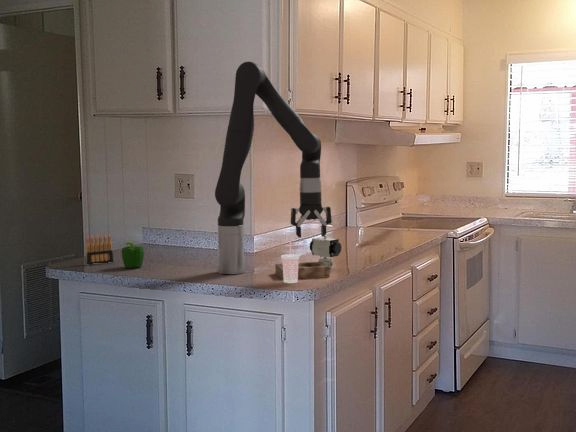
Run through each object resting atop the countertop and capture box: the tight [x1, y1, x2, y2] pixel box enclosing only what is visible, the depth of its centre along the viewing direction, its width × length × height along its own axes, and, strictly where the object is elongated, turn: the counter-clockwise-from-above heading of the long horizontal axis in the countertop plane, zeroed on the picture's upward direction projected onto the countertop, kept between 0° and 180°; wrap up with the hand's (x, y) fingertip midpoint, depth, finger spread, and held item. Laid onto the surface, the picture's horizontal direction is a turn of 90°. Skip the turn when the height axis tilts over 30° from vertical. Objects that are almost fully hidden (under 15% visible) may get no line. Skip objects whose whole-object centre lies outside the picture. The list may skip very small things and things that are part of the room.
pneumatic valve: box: [309, 235, 342, 269], centre depth 261 cm, size 6×12×12 cm, turn 51°
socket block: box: [274, 261, 330, 280], centre depth 247 cm, size 17×11×4 cm, turn 102°
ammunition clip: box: [85, 232, 114, 264], centre depth 275 cm, size 11×2×12 cm, turn 125°
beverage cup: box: [280, 240, 300, 284], centre depth 235 cm, size 6×6×14 cm
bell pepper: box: [121, 241, 145, 269], centre depth 266 cm, size 8×8×10 cm
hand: (311, 236), depth 247 cm, fingers open, 8 cm apart
